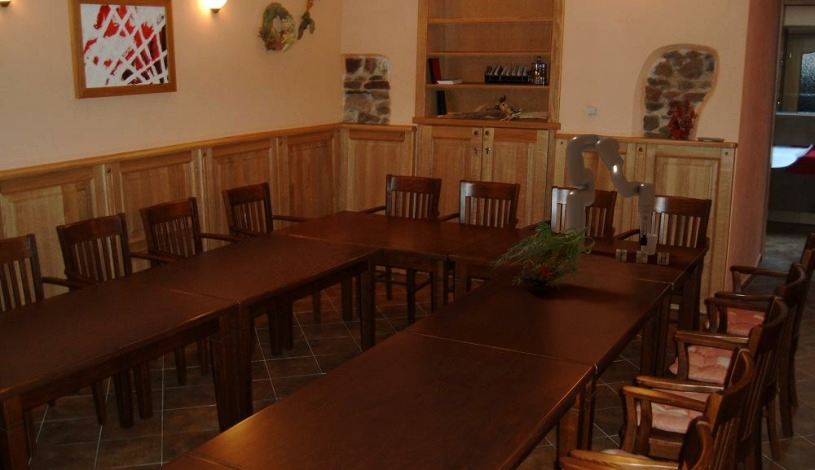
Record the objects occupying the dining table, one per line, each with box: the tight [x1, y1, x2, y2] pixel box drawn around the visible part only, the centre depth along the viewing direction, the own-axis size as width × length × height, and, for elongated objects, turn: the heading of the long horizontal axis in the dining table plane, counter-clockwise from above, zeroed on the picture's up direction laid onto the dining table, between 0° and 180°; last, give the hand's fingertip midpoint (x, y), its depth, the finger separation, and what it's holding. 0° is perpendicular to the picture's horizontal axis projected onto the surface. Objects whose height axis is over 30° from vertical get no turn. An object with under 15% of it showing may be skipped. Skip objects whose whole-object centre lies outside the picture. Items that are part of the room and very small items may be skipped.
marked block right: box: [656, 251, 670, 266], centre depth 416 cm, size 5×5×5 cm
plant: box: [488, 220, 599, 292], centre depth 364 cm, size 35×35×40 cm
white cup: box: [640, 233, 658, 256], centre depth 436 cm, size 8×8×10 cm
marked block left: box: [615, 248, 628, 262], centre depth 422 cm, size 5×5×5 cm
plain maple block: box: [635, 250, 649, 264], centre depth 419 cm, size 5×5×5 cm
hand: (643, 245), depth 418 cm, fingers closed
